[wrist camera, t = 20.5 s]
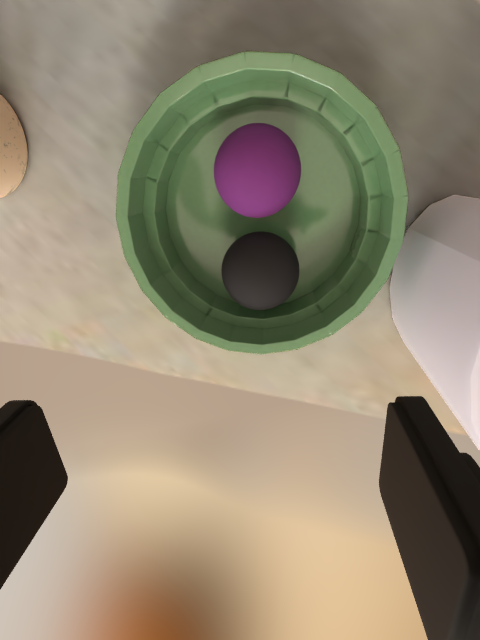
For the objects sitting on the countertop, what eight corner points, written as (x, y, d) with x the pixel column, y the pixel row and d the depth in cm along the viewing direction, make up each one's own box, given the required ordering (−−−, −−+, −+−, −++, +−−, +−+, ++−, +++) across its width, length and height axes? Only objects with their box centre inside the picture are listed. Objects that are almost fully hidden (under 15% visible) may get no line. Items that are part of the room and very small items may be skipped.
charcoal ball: (230, 296, 29) (219, 323, 24) (224, 227, 27) (210, 242, 22) (298, 293, 28) (301, 321, 23) (297, 223, 26) (301, 237, 21)
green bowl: (168, 323, 31) (145, 356, 26) (128, 92, 24) (84, 71, 19) (370, 317, 29) (391, 352, 23) (391, 61, 22) (427, 26, 16)
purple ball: (223, 213, 26) (213, 228, 21) (214, 129, 24) (202, 124, 19) (297, 208, 26) (305, 221, 21) (296, 122, 23) (306, 113, 18)
